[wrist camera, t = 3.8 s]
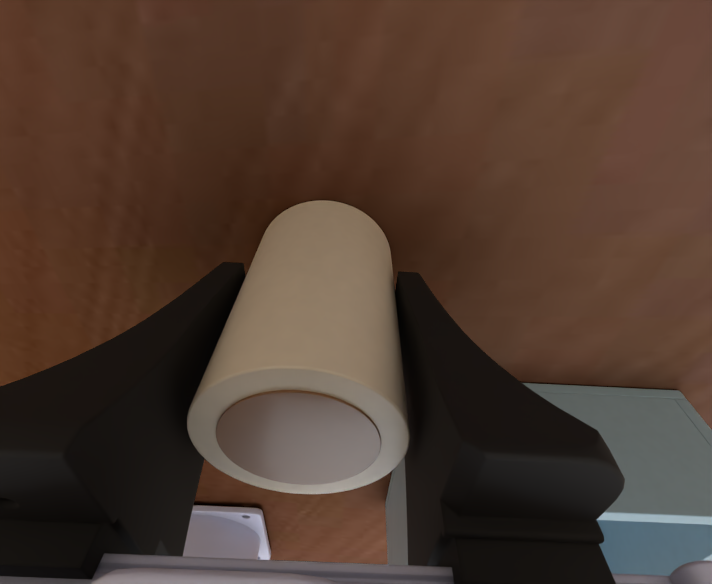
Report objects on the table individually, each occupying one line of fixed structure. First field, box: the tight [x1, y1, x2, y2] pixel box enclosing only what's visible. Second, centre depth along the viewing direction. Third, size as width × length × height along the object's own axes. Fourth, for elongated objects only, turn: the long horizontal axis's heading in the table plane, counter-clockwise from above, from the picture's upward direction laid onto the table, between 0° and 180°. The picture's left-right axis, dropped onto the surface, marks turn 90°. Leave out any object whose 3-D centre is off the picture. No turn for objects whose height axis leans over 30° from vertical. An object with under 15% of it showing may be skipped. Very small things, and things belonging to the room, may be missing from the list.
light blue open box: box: [385, 383, 712, 576], centre depth 19 cm, size 12×12×6 cm
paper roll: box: [187, 200, 410, 494], centre depth 11 cm, size 5×5×7 cm
